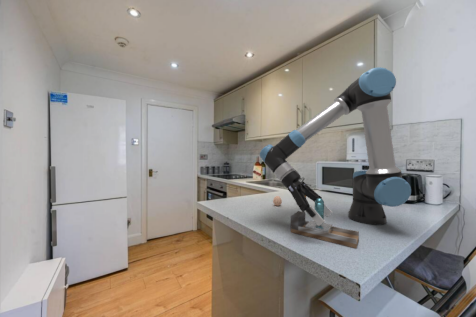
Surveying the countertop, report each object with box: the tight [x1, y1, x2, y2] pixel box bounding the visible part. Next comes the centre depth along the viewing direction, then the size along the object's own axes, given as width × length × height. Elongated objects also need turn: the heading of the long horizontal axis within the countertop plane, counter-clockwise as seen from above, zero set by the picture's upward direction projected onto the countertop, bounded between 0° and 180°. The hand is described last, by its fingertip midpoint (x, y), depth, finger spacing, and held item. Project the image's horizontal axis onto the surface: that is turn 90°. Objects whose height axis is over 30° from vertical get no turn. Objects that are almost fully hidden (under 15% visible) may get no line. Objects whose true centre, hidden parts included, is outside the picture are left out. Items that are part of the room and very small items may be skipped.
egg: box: [272, 195, 283, 207], centre depth 117 cm, size 5×5×6 cm
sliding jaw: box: [306, 198, 333, 233], centre depth 73 cm, size 8×7×12 cm
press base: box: [290, 210, 360, 249], centre depth 73 cm, size 22×8×6 cm, turn 54°
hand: (326, 219), depth 72 cm, fingers open, 12 cm apart
